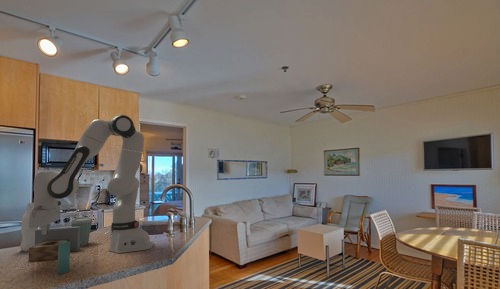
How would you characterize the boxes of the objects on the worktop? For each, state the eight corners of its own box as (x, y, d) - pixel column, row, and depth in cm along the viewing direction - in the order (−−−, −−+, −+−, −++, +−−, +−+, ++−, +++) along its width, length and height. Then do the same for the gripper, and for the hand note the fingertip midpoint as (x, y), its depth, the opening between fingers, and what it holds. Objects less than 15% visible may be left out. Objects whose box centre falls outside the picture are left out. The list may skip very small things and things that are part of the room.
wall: (79, 249, 144) (80, 226, 145) (77, 250, 141) (78, 227, 142) (37, 252, 140) (38, 228, 141) (34, 254, 137) (35, 230, 138)
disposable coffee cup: (95, 241, 158) (96, 216, 159) (85, 247, 147) (85, 219, 149) (77, 242, 158) (78, 216, 159) (65, 247, 147) (66, 220, 148)
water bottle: (22, 253, 139) (25, 204, 141) (17, 251, 143) (20, 203, 145) (39, 249, 145) (41, 202, 147) (33, 247, 149) (36, 202, 151)
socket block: (68, 251, 140) (69, 239, 140) (57, 258, 128) (57, 245, 129) (42, 253, 137) (43, 241, 138) (28, 261, 126) (29, 247, 126)
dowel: (70, 269, 114) (71, 240, 115) (66, 273, 110) (67, 243, 111) (60, 270, 113) (61, 241, 114) (55, 274, 109) (56, 244, 110)
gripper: (40, 206, 119) (40, 238, 118) (62, 201, 139) (63, 228, 138) (24, 208, 118) (24, 240, 117) (49, 202, 138) (49, 229, 137)
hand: (45, 233), depth 128 cm, fingers closed
